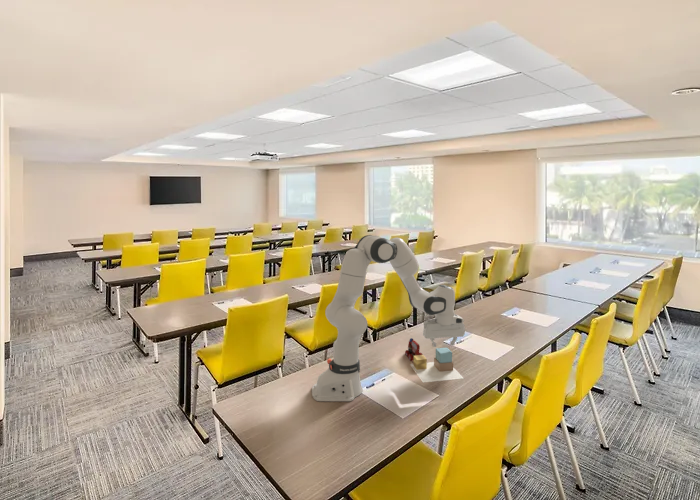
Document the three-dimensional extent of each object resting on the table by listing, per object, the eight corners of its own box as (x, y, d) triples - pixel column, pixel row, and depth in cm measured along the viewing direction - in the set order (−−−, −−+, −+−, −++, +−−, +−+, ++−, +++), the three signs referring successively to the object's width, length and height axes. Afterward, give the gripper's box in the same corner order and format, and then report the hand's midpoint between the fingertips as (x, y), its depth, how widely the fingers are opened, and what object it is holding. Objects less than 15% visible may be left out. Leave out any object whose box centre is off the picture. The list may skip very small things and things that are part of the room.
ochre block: (416, 369, 188) (416, 360, 187) (413, 365, 193) (413, 355, 192) (426, 368, 189) (426, 359, 188) (422, 364, 194) (423, 354, 193)
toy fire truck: (415, 353, 210) (415, 335, 208) (424, 363, 198) (425, 344, 196) (403, 354, 208) (403, 336, 207) (411, 364, 196) (412, 345, 195)
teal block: (440, 363, 186) (440, 353, 185) (435, 357, 192) (435, 348, 191) (452, 362, 187) (452, 352, 186) (446, 356, 193) (447, 347, 192)
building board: (422, 384, 176) (423, 374, 175) (409, 366, 194) (409, 356, 194) (464, 380, 179) (464, 370, 178) (447, 362, 198) (447, 353, 197)
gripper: (426, 321, 181) (425, 349, 183) (467, 319, 184) (465, 347, 186) (421, 317, 187) (420, 344, 189) (461, 315, 191) (459, 342, 193)
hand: (443, 345), depth 188 cm, fingers open, 8 cm apart
